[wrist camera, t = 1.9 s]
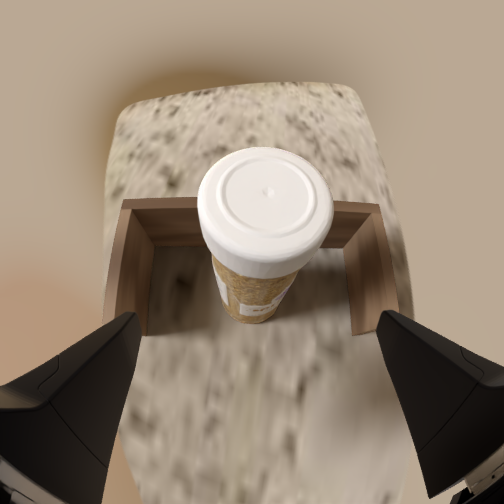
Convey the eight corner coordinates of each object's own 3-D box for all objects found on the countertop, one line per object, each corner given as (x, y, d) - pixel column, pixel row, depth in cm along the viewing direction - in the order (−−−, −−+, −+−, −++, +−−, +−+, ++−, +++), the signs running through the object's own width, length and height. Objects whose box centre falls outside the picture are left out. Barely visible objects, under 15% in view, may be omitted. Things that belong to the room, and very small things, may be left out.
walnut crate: (360, 334, 20) (400, 322, 14) (137, 335, 19) (102, 323, 14) (349, 240, 23) (378, 204, 18) (147, 237, 22) (123, 199, 17)
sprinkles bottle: (267, 333, 20) (317, 283, 7) (211, 310, 20) (168, 226, 8) (287, 279, 21) (348, 167, 9) (234, 258, 22) (231, 128, 10)
